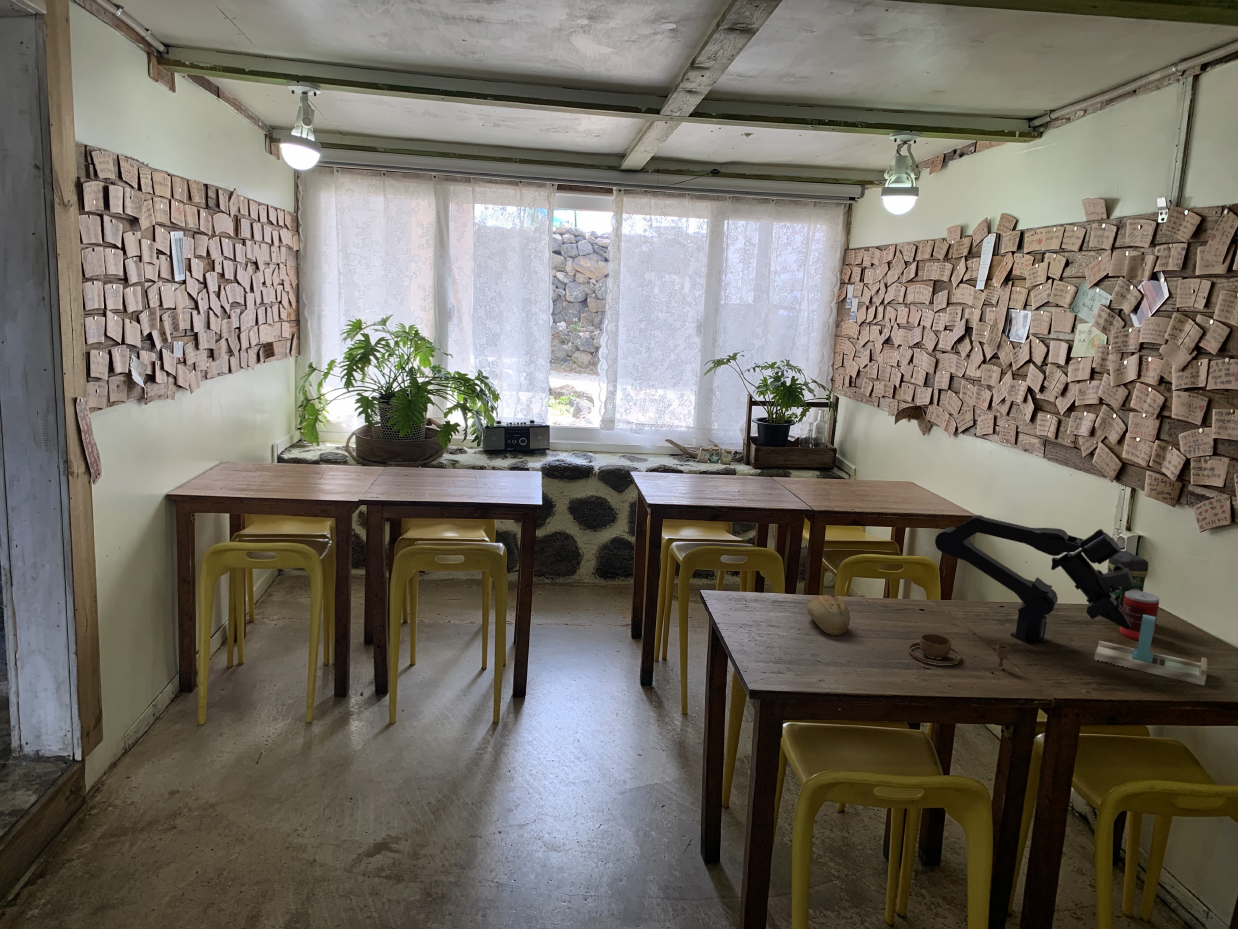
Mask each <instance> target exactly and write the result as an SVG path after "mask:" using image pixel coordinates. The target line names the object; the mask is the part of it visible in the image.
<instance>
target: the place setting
mask: <svg viewBox="0 0 1238 929" xmlns="http://www.w3.org/2000/svg"><path fill="white" fill-rule="evenodd" d="M919 639H920V641H916V642H913V643H910V644H909V645H908V647H907V648H908V654H909V653H910V654H911V655H912V656H913V657H915V658H917V659H920V660H923V661H926V662H931V663H936V664H955V663H957V662H959V661H960V662H961V660H962V654H961V653H960V651H959V650H957V649H956V648H953V647H952V643H953V642H952V640H951V639H950V638H948V637H946V636H944V635H941V634H936V633H926V634H922V635H921V636H920V638H919ZM916 646H920V648H919V649H920V651H921V652H922V653H923V654H924V655H925V654H926V655H928V656H930V657H934V658H942V657H943V658H945V657H948V656H949V654H951V653H950V651H952V652H954V653H956V654H957V655H958V656H959V659H958V660H957V659H955V660H951V661H938V660H934V659H933V660H932V659H930V658H929V659H928V658H924V657H922V656H919V655H918V654H915V653H914V652H913V650H912V651H911V650H910V649H911V648H912V647H916ZM1009 649H1010V648H1009V646H1007V645H1004V644H998V645H997V646H996V656H997V658H998V660H999V662H998V664H997V666H998V667H1002V668H1003V666H1004V660H1006V659H1007V658H1008V654H1009ZM910 654H909V655H910ZM911 655H910V656H911ZM926 655H925V656H926ZM912 656H911V657H912ZM913 657H912V658H913ZM915 658H914V659H915ZM943 658H942V659H943ZM960 662H959V663H960Z"/></svg>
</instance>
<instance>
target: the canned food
mask: <svg viewBox="0 0 1238 929" xmlns="http://www.w3.org/2000/svg"><path fill="white" fill-rule="evenodd" d="M1159 605H1160V597H1159V596H1157V595H1155V594H1154V593H1151V592H1145V591H1143V592H1142V591H1127V592H1125V597H1124V603H1123V609H1122V610H1123V612H1124V613H1125V615H1126V617H1127V619H1128V621H1129V623H1130V625H1131V628H1129V629H1125V628H1123V627H1121V626H1119V633H1120V635H1121V636H1123V637H1125V638H1127V639H1130V640H1133V639H1134V640H1133V641H1138V640H1139V636H1140V630H1141V624H1142V618H1143V614H1144V615H1149V616H1154V617H1155V623H1154V629H1153V636H1152V639H1153V638H1154V635H1155V629H1156V623H1157V617H1158V611H1159Z"/></svg>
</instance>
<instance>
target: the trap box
mask: <svg viewBox="0 0 1238 929" xmlns="http://www.w3.org/2000/svg"><path fill="white" fill-rule="evenodd" d="M1134 649H1135V648H1134V647H1129V646H1125V645H1120V644H1116V643H1111V642H1108V641H1106V642H1105V641H1102V640H1098V646H1097V648H1096V650H1095V652H1094V658H1093V660H1094V659H1095V660H1094V661H1097V660H1099V661H1098V662H1101V661H1103V662H1102V663H1105V662H1108V663H1107V664H1110V663H1112V664H1111V665H1114V664H1115V666H1118V665H1119V667H1122V666H1124V667H1123V668H1127V667H1128V668H1127V669H1132V670H1136V671H1140V672H1144V673H1149V674H1153V675H1158V676H1161V677H1165V678H1170V679H1174V680H1179V681H1183V682H1188V683H1192V684H1195V685H1200V686H1205V685H1206V679H1207V675H1208V673H1207V672H1208V658H1207V657H1203V656H1201V661H1200V662H1199V661H1197V662H1196V661H1192V660H1188V659H1183V658H1179V657H1175V656H1171V655H1170V656H1169V655H1166V654H1161V653H1156V652H1152V653H1153V659H1152V663H1147V662H1143V661H1139V660H1134V659H1132V656H1133V651H1134Z"/></svg>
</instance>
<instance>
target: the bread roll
mask: <svg viewBox="0 0 1238 929" xmlns="http://www.w3.org/2000/svg"><path fill="white" fill-rule="evenodd" d="M806 611H807V614H808V615H809V616H810V618H811V619H812V620H813V621H814V622H815V623H816V625H817V626H818V627H819V628H820V629H821V630H822V631H823V632H824V633H825V634H827V633H828V635H830V634H831V635H830V636H834V635H837V636H841V635H843V634H844V633H845V632H846V631H847V630H848V628H849V626H850V625H851V624H850V622H851V614H850V609H849V606H848V605H847V603H846V602H845V601H844V600H843V599H842V598H841V597H839V596H836V595H834V594H831V595H826V594H825V595H818V596H815V597H813V598H812V599H810V601H809V603H808V604H807V607H806Z"/></svg>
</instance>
